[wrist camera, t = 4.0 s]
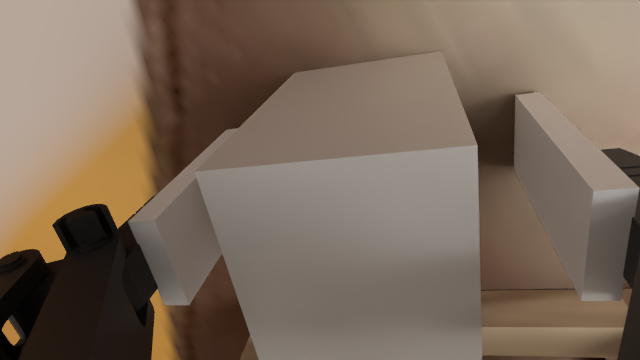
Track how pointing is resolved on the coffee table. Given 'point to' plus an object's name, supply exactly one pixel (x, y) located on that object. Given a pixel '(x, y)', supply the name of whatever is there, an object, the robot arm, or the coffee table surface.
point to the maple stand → (543, 324)
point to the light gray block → (354, 215)
